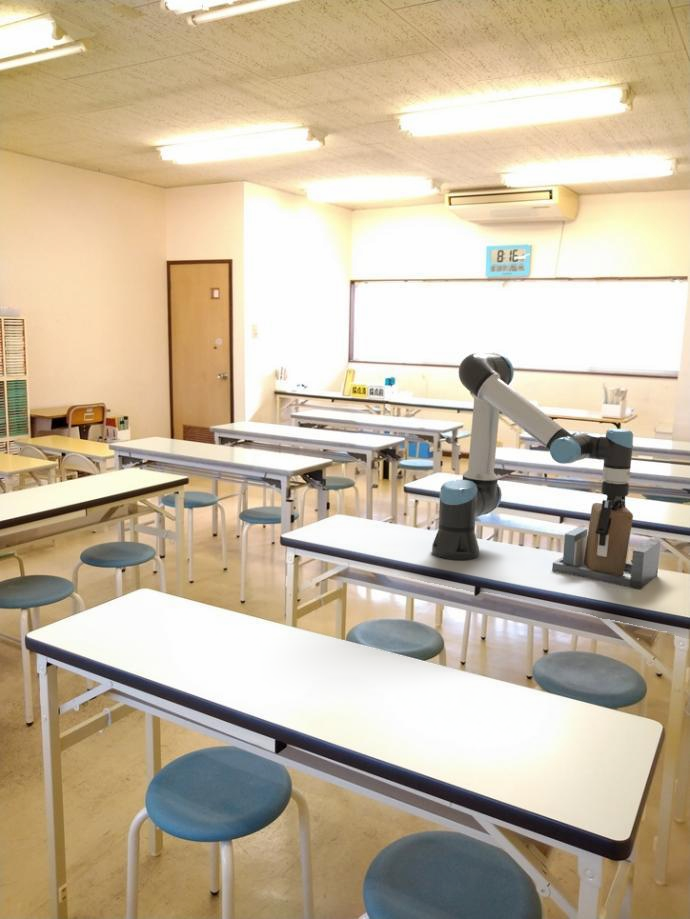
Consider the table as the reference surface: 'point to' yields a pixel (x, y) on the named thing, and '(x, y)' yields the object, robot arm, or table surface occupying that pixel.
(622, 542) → the wooden block
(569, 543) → the block
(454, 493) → the robot arm
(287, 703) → the table surface
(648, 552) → the vise bed
